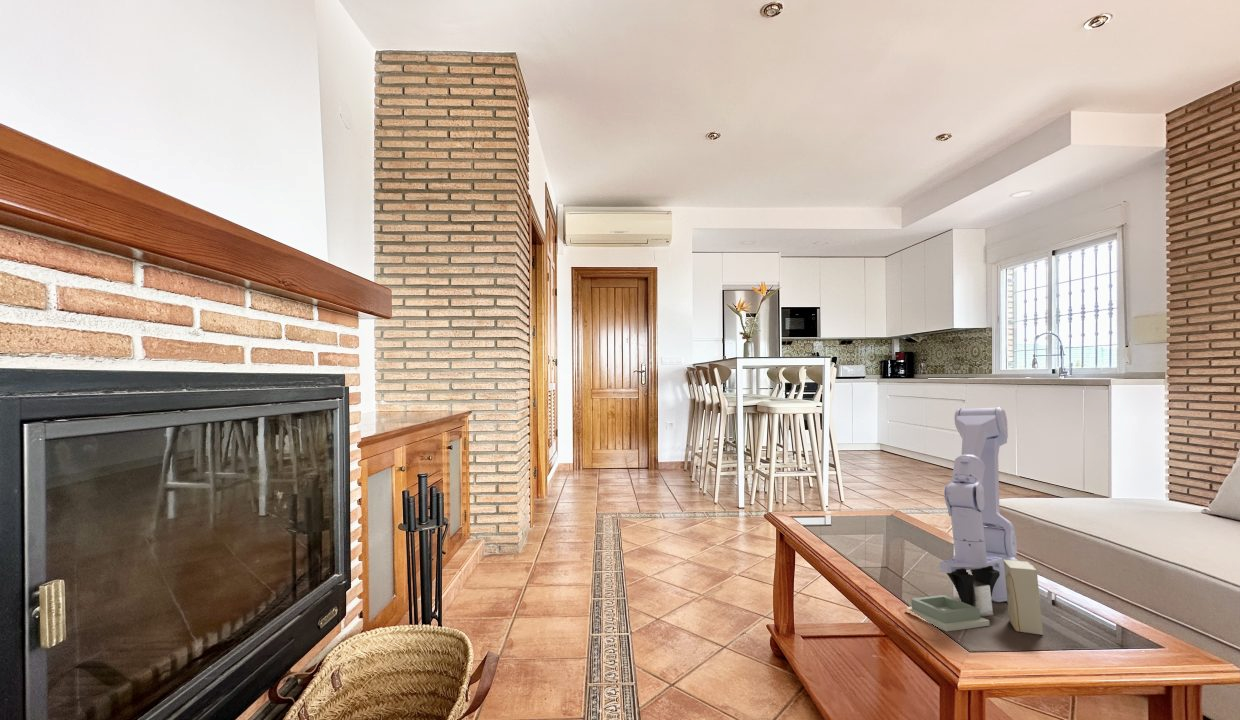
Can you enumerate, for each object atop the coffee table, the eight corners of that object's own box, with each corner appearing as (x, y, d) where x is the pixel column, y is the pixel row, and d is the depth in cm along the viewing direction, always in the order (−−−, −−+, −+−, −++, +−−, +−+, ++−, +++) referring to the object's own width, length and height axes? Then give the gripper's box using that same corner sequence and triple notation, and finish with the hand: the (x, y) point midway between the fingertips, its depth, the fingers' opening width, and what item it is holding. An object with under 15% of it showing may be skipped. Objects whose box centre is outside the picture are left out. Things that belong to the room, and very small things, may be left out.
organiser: (945, 607, 110) (943, 592, 110) (989, 625, 100) (987, 609, 100) (904, 612, 108) (903, 597, 108) (946, 631, 98) (944, 615, 98)
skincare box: (1008, 620, 102) (1001, 558, 104) (1036, 624, 100) (1028, 561, 102) (1016, 632, 97) (1008, 566, 98) (1045, 636, 95) (1037, 569, 96)
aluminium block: (975, 608, 109) (972, 579, 110) (993, 614, 105) (989, 585, 106) (960, 610, 108) (957, 581, 109) (977, 616, 104) (974, 586, 105)
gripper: (979, 532, 114) (986, 595, 112) (925, 537, 111) (932, 601, 109) (1009, 539, 107) (1016, 605, 106) (953, 544, 104) (960, 613, 102)
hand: (975, 604), depth 107 cm, fingers closed on aluminium block, 4 cm apart
